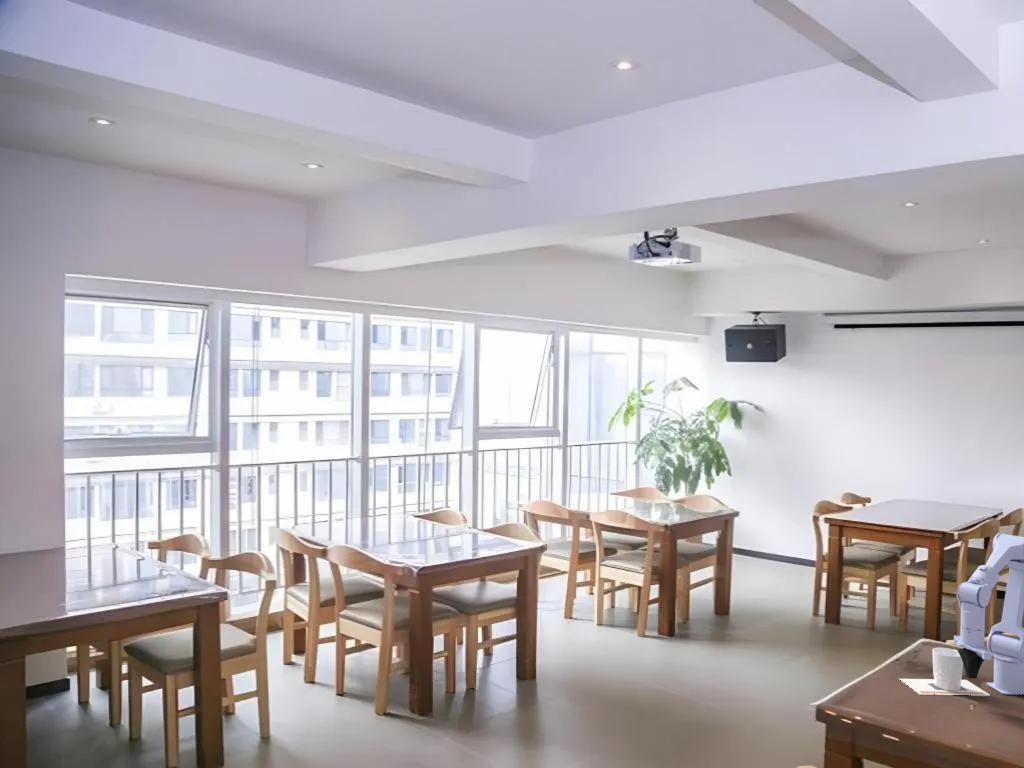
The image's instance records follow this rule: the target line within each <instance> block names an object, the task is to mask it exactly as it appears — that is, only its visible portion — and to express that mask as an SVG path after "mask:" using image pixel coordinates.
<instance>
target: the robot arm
mask: <svg viewBox="0 0 1024 768" xmlns="http://www.w3.org/2000/svg"><path fill="white" fill-rule="evenodd" d="M1006 565H1007V567H1008V569H1009V570H1008V574H1007V575H1008V576H1007V582H1006V589H1005V595H1004V602H1003V608H1002V615H1001V621H1000V622H997V623H996V624H994V625H992V626H991V628H990V632H989V634H988V636H987V639H986V645H985V631H986V630H985V626H986V625H985V623H986V619H985V618H986V617H985V616H986V607H987V606H988V604H989V603H990V599H991V596H992V589H994V587H995V586H996V584H997V583H998V582H999V580H1000V574H999V572H1001V570H1002V569H1003V568H1004V567H1005V566H1006ZM956 600H957V602H958V609H960V628H959V629H960V631H959V632H960V633H959V635H953V643H955V645H956V646H957V647H959V649H957V651H958V653H959V655H960V656H961V659H962V661H963V667H964V668H963V669H964V673H965V676H966V678H967V679H978V678H977V677H978V675H979V672H980V669H981V667H982V665H983V663H984V661H986V660H988V661H992V657H993V682H986V685H987V686H989V687H990V688H992V689H994V690H995V691H996V692H999V693H1000V694H1002V695H1019V694H1020V695H1022V694H1023V695H1024V627H1023V626H1022V625H1023V619H1024V536H1019V535H1013V534H1007V533H1002V532H997V534H996V535H995V536H994V538H993V540H992V552H991V554H990V556H989V558H988V560H987V562H986V563H985V564H982V565H979V566H978V567H977V568H976V569H975V570H974V572H973V574H972V575H971V576H970V577H969V579H968V580H967V581H964V582H961V583H960V584H959V585H958V587H957V591H956ZM1009 634H1010V635H1009ZM1013 635H1014V636H1013ZM961 648H962V649H961Z"/></svg>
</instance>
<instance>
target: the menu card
mask: <svg viewBox="0 0 1024 768" xmlns="http://www.w3.org/2000/svg"><path fill="white" fill-rule="evenodd" d="M898 680H899V681H900V680H901V681H900V682H901V683H903V684H904V683H905V684H904V685H906V686H907V685H908V686H909V687H908V686H907V687H908V688H910V689H911V688H912V689H913V690H912V689H911V690H912V691H914V692H915V693H916V692H917V694H918V695H919V696H953V695H969V696H970V695H971V696H970V697H991V696H990V695H991V694H990V693H988V692H986V691H985V690H983V689H982V688H980V687H979V686H977V685H975V684H974V683H973V682H971V681H969V680H967V679H961V689H960V690H958V691H950V690H944V689H941V688H938V687H936V686H935V685H934V678H933V679H932V678H930V679H929V678H898ZM934 694H935V695H934ZM969 696H968V697H969Z"/></svg>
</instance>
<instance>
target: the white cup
mask: <svg viewBox="0 0 1024 768" xmlns="http://www.w3.org/2000/svg"><path fill="white" fill-rule="evenodd" d="M931 652H932V673H933V674H932V675H933V679H934V685H935V686H936V687H938V688H941V689H944V690H950V691H958V690H960V689H961V680H963V679H962V677H963V669H964V668H963V667H964V665H963V661H962V659H961V656H960V655H959V653H958V649H953V648H947V647H933V648H932V651H931Z"/></svg>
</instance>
